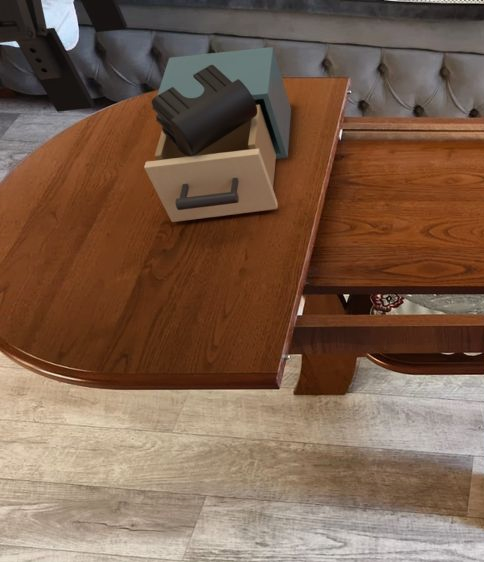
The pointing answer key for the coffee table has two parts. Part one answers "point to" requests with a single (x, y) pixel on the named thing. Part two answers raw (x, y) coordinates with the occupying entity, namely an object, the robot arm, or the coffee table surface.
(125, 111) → the coffee table surface
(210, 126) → the end cap
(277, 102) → the cabinet
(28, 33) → the robot arm
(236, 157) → the drawer
